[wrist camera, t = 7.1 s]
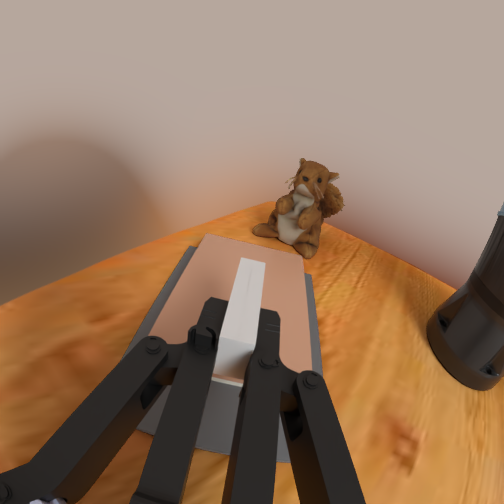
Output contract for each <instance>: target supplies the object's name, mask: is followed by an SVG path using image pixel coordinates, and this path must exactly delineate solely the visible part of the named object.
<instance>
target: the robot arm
mask: <svg viewBox="0 0 504 504" xmlns="http://www.w3.org/2000/svg"><path fill="white" fill-rule="evenodd" d="M497 215H498V219H497V221H496V224H495V226H494V229H493V231H492V233H491V236H490V238H489V240H488V242H487V244H486V246H485V248H484V250H483V252H482V254H481V257H480V258H479V260H478V262H477V264H476V266H475V268H474V270H473V272H472V273H471V275H470V277H469V279H468V280H467V282H466V283H465V284H464V285H463V286H462V287H461V288H460V289H458V290H457V291H456V292H455V293H454V294H453V295H452V296H451V297H449V298H448V299H447V300H446V301H445V302H444V303H442V304H441V305H440V306H439V307H438V308H437V309H436V311H435V312H434V314H433V315H432V317H431V318H430V320H429V321H428V324H427V335H428V339H429V342H430V344H431V347H432V349H433V351H434V353H435V354H436V356H437V358H438V359H439V360H440V362H441V363H442V364H443V366H444V367H445V368H446V369H447V370H448V371H449V372H450V373H451V374H452V375H453V376H454V377H455V378H456V379H457V380H459V381H460V382H461V383H463V384H464V385H466V386H468V387H470V388H472V389H475V390H480V391H486V390H489V389H491V388H493V387H494V386H495V385H496V384H497V383H498V382H499V381H500V379H501V378H502V377H503V376H504V203H503V205H502V208H501V210H500V211H499V212H498V214H497ZM265 264H266V263H264V262H260V261H255V260H251V259H247V258H243V257H241V260H240V263H239V267H238V271H237V274H236V278H235V281H234V285H233V289H232V292H231V296H230V300H229V301H227V300H223V299H218V298H214V297H210V298H209V299H208V300H207V301H205V303H204V306H203V309H202V311H201V314H200V317H199V319H198V322H197V324H196V325H194V326H192V327H190V329H189V330H188V336H187V341H186V342H185V343H181V344H167V343H166V341H165V340H164V339H162V338H161V337H158V336H147V337H144V338H143V339H141V340H140V341H139V342H138V343H137V344H136V345H135V347H134V348H133V349H132V350H131V351H130V352H129V353H128V354H127V355H126V356H125V357H124V358H123V359H122V360H121V361H120V362H119V363H118V365H117V366H116V367H115V368H114V369H113V370H112V371H111V372H110V373H109V374H108V375H107V376H106V377H105V378H104V380H103V381H102V382H101V383H100V384H99V385H98V386H97V387H96V388H95V389H94V390H93V391H92V393H91V394H90V395H89V396H88V397H87V398H86V399H85V400H84V401H83V402H82V403H81V405H80V406H79V407H78V408H77V409H76V410H75V411H74V412H73V413H72V414H71V416H70V417H69V418H68V419H67V420H66V421H65V422H64V423H63V424H62V426H61V427H60V428H59V429H58V430H57V431H56V432H55V433H54V435H53V436H52V437H51V438H50V439H49V440H48V441H47V442H46V444H45V445H44V446H43V447H42V448H41V449H40V450H39V452H38V453H37V454H36V455H35V456H34V457H33V458H32V460H31V461H30V462H29V463H27V464H24V465H22V466H19V467H17V468H14V469H12V470H9V471H7V472H4V473H1V474H0V504H75V503H76V502H78V501H79V500H80V499H81V498H82V497H83V496H84V495H85V494H86V493H87V492H88V491H89V489H90V488H91V487H92V485H93V484H94V483H95V481H96V480H97V479H98V478H99V476H100V475H101V474H102V472H103V471H104V470H105V468H106V467H107V466H108V464H109V463H110V462H111V461H112V459H113V458H114V457H115V455H116V454H117V453H118V451H119V450H120V449H121V447H122V446H123V445H124V443H125V442H126V441H127V439H128V438H129V437H130V435H131V434H132V433H133V431H134V430H135V429H136V427H137V426H138V425H139V423H140V422H141V421H142V419H143V418H144V417H145V415H146V414H147V413H148V411H149V410H150V409H151V407H152V406H153V405H154V403H155V402H156V401H157V399H158V398H159V397H160V395H161V394H162V393H163V391H164V390H165V388H166V387H167V386H168V385H172V386H171V389H170V392H169V395H168V397H167V400H166V403H165V406H164V409H163V412H162V415H161V418H160V421H159V423H158V426H157V429H156V432H155V435H154V438H153V441H152V444H151V447H150V450H149V453H148V456H147V460H146V463H145V466H144V469H143V472H142V475H141V478H140V482H139V485H138V488H137V490H136V491H135V493H134V494H133V496H132V498H131V500H130V503H129V504H181V503H182V499H183V495H184V490H185V486H186V482H187V478H188V474H189V469H190V465H191V461H192V457H193V453H194V449H195V445H196V441H197V436H198V432H199V428H200V424H201V420H202V416H203V412H204V408H205V404H206V400H207V396H208V392H209V388H210V384H211V379H212V375H213V373H214V374H219V375H223V376H227V377H232V378H236V379H241V380H243V379H244V382H243V386H242V388H241V391H240V394H239V396H238V397H240V399H239V405H238V411H237V417H236V423H235V429H234V435H233V440H232V446H231V452H230V458H229V464H228V469H227V475H226V480H225V486H224V492H223V497H222V503H221V504H273V494H274V483H275V472H276V460H277V446H278V431H279V415H280V417H281V421H282V426H283V430H284V435H285V439H286V444H287V448H288V453H289V457H290V461H291V466H292V470H293V474H294V479H295V483H296V488H297V492H298V496H299V500H300V504H366V503H365V500H364V496H363V493H362V490H361V487H360V484H359V481H358V477H357V474H356V471H355V468H354V465H353V462H352V459H351V456H350V453H349V450H348V447H347V444H346V441H345V438H344V435H343V432H342V429H341V426H340V423H339V421H338V418H337V415H336V412H335V409H334V406H333V403H332V400H331V398H330V395H329V392H328V389H327V386H326V384H325V381H324V379H323V377H322V376H321V375H320V374H318V373H317V372H315V371H311V370H305V371H302V372H301V373H298V372H295V371H293V370H291V369H289V368H287V367H286V366H285V365H284V364H283V363H282V361H281V359H280V355H279V350H280V323H281V318H280V316H279V314H278V312H277V311H273V310H268V309H264V308H260V306H261V298H262V289H263V281H264V273H265Z"/></svg>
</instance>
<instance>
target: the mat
mask: <svg viewBox="0 0 504 504" xmlns="http://www.w3.org/2000/svg"><path fill="white" fill-rule="evenodd" d="M196 250H197V247H193V246H189V248H188V249H187V251H186V252H185V254H184V256H183V257H182V259H181V260H180V262H179V263H178V265H177V266H176V268H175V270H174V271H173V273H172V274H171V276H170V278H169V279H168V281H167V282H166V284H165V286H164V287H163V289H162V290H161V292H160V294H159V295H158V297H157V299H156V300H155V302H154V304H153V305H152V307H151V309H150V310H149V312H148V314H147V315H146V317H145V319H144V321H143V322H142V324H141V326H140V327H139V329H138V331H137V333H136V334H135V336H134V338H133V340H132V341H131V343H130V345H129V347H128V349H127V350H126V352H125V354H124V356H123V358H124V357H125V356H126V355H127V354H128V353H129V352H130V351H131V350H132V349H133V348H134V347H135V345H136V344H137V343H138V342H139V341H140V340H141V339H143V338H144V337H147V336H148V335H149V333H150V331H151V329H152V328H153V326H154V324H155V322H156V320H157V318H158V316H159V315H160V313H161V311H162V309H163V307H164V305H165V304H166V302H167V300H168V298H169V296H170V295H171V293H172V291H173V289H174V288H175V286H176V284H177V282H178V281H179V279H180V277H181V275H182V274H183V272H184V270H185V268H186V267H187V265H188V263H189V261H190V260H191V258H192V256H193V255H194V253H195V251H196ZM304 276H305V286H306V296H307V307H308V318H309V330H310V344H311V358H312V371H315V372H317V373H318V374H320V375H321V376H322V377H323V372H322V361H321V350H320V341H319V332H318V323H317V315H316V307H315V299H314V291H313V284H312V277H311V275H310V274H306V273H304ZM123 358H122V359H123ZM122 359H121V360H122ZM171 386H172V385H168V386H167V387H166V388H165V390H164V391H163V393H162V394H161V395H160V397H159V398H158V399H157V401H156V402H155V403H154V405H153V406H152V407H151V409H150V410H149V411H148V413H147V414H146V415H145V417H144V418H143V419H142V421H141V422H140V423H139V425H138V426H137V427H136V429H137V430H140V431H142V432H145V433H148V434H151V435H155V432H156V429H157V426H158V423H159V421H160V418H161V415H162V412H163V409H164V406H165V403H166V400H167V397H168V395H169V392H170V389H171ZM241 388H242V387H239V386H234V385H230V384H225V383H221V382H217V381H213V380H211V384H210V388H209V392H208V396H207V400H206V404H205V408H204V412H203V416H202V420H201V424H200V428H199V432H198V436H197V441H196V445H195V448H198V449H202V450H207V451H211V452H216V453H221V454H226V455H230V452H231V446H232V440H233V435H234V429H235V423H236V417H237V411H238V405H239V399H240V397H238V396H239V394H240V391H241ZM276 462H285V463H291V461H290V457H289V453H288V448H287V444H286V439H285V435H284V430H283V426H282V421H281V417H280V415H279V431H278V446H277V460H276Z"/></svg>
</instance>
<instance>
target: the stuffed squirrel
mask: <svg viewBox="0 0 504 504" xmlns="http://www.w3.org/2000/svg"><path fill="white" fill-rule="evenodd" d="M292 178H295V179H294V180H293V181H292V182H291V184H290V186H291V185H292V183H294V190H292V191H290V193H289V194H288V195H285V196H283V197H281V198H279V199H278V200H277V202H276V209H275V210H274V211H273V212H272V213H271V215H270V217H269V221H268V224H266V223H261V224H258V225H256V226H255V227H254V228H253V234H255V235H256V236H261V237H278V239H279V240H281V241H283V242H284V243H286V244H289V245H293V246H294V248H295V249H296V250H297V251H298V252H299V253H300V254H301V255H302V256H303V257H304V258H307V259H310V258H311V257H313V256H314V254H315V253H316V251H317V249H318V247H319V236H320V231H321V225H322V224H323V220H324V219H323V218H327V217H330V216H331V215H335V214H336V213H338V212H339V211H340V210H341V211H342V208H343V206H344V204H343V197H342V196H341V193H340V192H339V189H338V188H337V187H335V186H333V184H331V182H332V181H334V180H336V179H338V178H339V174H338V173H333V172H329V171H328V169H327V168H326V167H325V166H323V165H321V164H319V163H317V162H314V161H306V160H305V159H304V158H301V159H300V168H299V169H298V172H297V174H296V176H295V177H292ZM292 178H290V179H292ZM290 179H289V180H290ZM289 180H287V181H286V182H285V183H287V182H288V181H289ZM290 186H289V187H288V189H290Z"/></svg>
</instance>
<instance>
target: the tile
mask: <svg viewBox="0 0 504 504" xmlns="http://www.w3.org/2000/svg"><path fill="white" fill-rule="evenodd" d="M241 257H243V258H247V259H251V260H255V261H260V262H264V263H266V264H265V273H264V281H263V289H262V298H261V306H260V308H264V309H268V310H273V311H277V312H278V314H279V316H280V318H281V323H280V350H279V355H280V359H281V361H282V363H283V364H284V365H285V366H286V367H287V368H289V369H291V370H293V371H295V372H298V373H301V372H302V371H305V370H311V371H312V358H311V344H310V330H309V318H308V307H307V296H306V286H305V276H304V267H303V258H302V256H300V255H296V254H292V253H288V252H284V251H280V250H276V249H271V248H267V247H263V246H259V245H255V244H250V243H246V242H242V241H238V240H234V239H229V238H225V237H221V236H217V235H213V234H208V233H206V235H205V236H204V238H203V240H202V241H201V243H200V245H199V246H198V248H197V250H196V251H195V253H194V255H193V256H192V258H191V260H190V261H189V263H188V265H187V267H186V268H185V270H184V272H183V274H182V275H181V277H180V279H179V281H178V282H177V284H176V286H175V288H174V289H173V291H172V293H171V295H170V296H169V298H168V300H167V302H166V304H165V305H164V307H163V309H162V311H161V313H160V315H159V316H158V318H157V320H156V322H155V324H154V326H153V328H152V329H151V331H150V333H149V335H148V336H158V337H161V338H162V339H164V340H165V341H166V343H167V344H181V343H185V342H186V341H187V336H188V330H189V329H190V327H192V326H194V325H196V324H197V322H198V319H199V317H200V314H201V311H202V309H203V306H204V303H205V301H207V300H208V299H209V298H210V297H214V298H218V299H223V300H227V301H229V300H230V296H231V292H232V289H233V285H234V281H235V278H236V274H237V271H238V267H239V263H240V260H241ZM211 380H213V381H217V382H221V383H225V384H230V385H234V386H239V387H242V386H243V382H244V379H243V380H241V379H236V378H232V377H227V376H223V375H219V374H214V373H213V375H212V379H211Z"/></svg>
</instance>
